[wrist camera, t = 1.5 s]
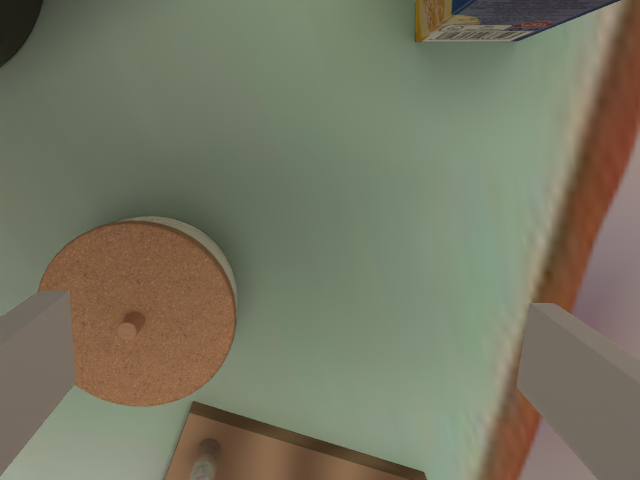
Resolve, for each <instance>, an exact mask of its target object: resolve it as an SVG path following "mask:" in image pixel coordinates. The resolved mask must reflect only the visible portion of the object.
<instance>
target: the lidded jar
mask: <svg viewBox="0 0 640 480" xmlns="http://www.w3.org/2000/svg"><path fill="white" fill-rule="evenodd" d="M40 290H42V291H69V292H70V306H71V321H72V335H73V350H74V364H75V379H76V383H75V385H76V386H78V387H79V388H81V389H83V390H84V391H86V392H88V393H89V394H92V395H94V396H96V397H98V398H100V399H102V400H106V401H109V402H113V403H116V404H122V405H128V406H153V405H161V404H165V403H169V402H172V401H176V400H178V399H181V398H183V397H185V396H187V395H190V394H191V393H193V392H194V391H196V390H197V389H199V388H201V387H202V386H203V385H204V384H205V383H207V382H208V381H209V380H210V379H211V378H212V377H213V376H214V375H215V373H216V372H217V371H218V370H219V368H220V367H221V366H222V364H223V362H224V360H225V359H226V357H227V355H228V353H229V350H230V347H231V345H232V342H233V339H234V334H235V328H236V316H237V310H238V295H237V287H236V281H235V278H234V274H233V271H232V268H231V266H230V265H229V263H228V261H227V259H226V257H225V255H224V254H223V252H222V251H221V250H220V248H219V247H218V245H217V244H216V243H215V242H214V241H213V240H212V239H210V238H209V237H208V236H207V235H206V234H204V233H203V232H202V231H200V230H199V229H197V228H195V227H193V226H191V225H189V224H187V223H184V222H181V221H178V220H175V219H171V218H166V217H160V216H142V217H133V218H127V219H123V220H119V221H116V222H113V223H110V224H106V225H103V226H99V227H97V228H94V229H92V230H90V231H88V232H86V233H84V234H82V235H80V236H78V237H77V238H75V239H74V240H73V241H71V242H70V243H68V244H67V245H66V246H65V247H64V248H63V249H62V250H61V251H60V252H59V253H58V254H57V255H56V256H55V257H54V259H53V260H52V261H51V263H50V264H49V265H48V267H47V269H46V271H45V273H44V275H43V277H42V279H41V282H40V286H39V289H38V292H39V291H40Z"/></svg>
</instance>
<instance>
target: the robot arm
mask: <svg viewBox="0 0 640 480" xmlns="http://www.w3.org/2000/svg"><path fill="white" fill-rule="evenodd" d="M41 3H42V0H0V66H1V65H2V64H4V63H5V62H6V61H7V60H8V59H10V58H11V57H12V56H13V55H14V54H15V53H16V51H17V50H18V49H19V48H20V47H21V45H22V44H23V43H24V41H25V40H26V38H27V37H28V35H29V33H30V32H31V30H32V28H33V26H34V24H35V21H36V19H37V16H38V13H39V10H40V7H41ZM75 383H76V379H75V364H74V350H73V335H72V321H71V306H70V292H69V291H42V290H40V291H39V292H37V293H36V294H34V295H33V296H31V297H30V298H29V299H27V300H26V301H24V302H23V303H21V304H20V305H18V306H17V307H16V308H14V309H13V310H11V311H10V312H8V313H7V314H5V315H4V316H2V317H1V318H0V476H1V475H2V474H3V472H4V471H5V470H6V469H7V467H8V466H9V465H10V464H11V462H12V461H13V460H14V459H15V457H16V456H17V455H18V454H19V452H20V451H21V450H22V449H23V447H24V446H25V445H26V444H27V442H28V441H29V440H30V439H31V437H32V436H33V435H34V434H35V432H36V431H37V430H38V429H39V427H40V426H41V425H42V424H43V422H44V421H45V420H46V419H47V417H48V416H49V415H50V414H51V412H52V411H53V410H54V409H55V407H56V406H57V405H58V404H59V402H60V401H61V400H62V399H63V397H64V396H65V395H66V394H67V392H68V391H69V390H70V389H71V388H72V386H73V385H74V384H75ZM516 387H517V388H518V389H519V391H520V392H521V393H522V394H523V395H524V396H525V397H526V398H527V400H528V401H529V402H530V403H531V404H532V405H533V406H534V408H535V409H536V410H537V411H538V412H539V413H540V414H541V416H542V417H543V418H544V419H545V420H546V421H547V422H548V424H549V425H550V426H551V427H552V428H553V429H554V430H555V431H556V433H557V434H558V435H559V436H560V437H561V438H562V439H563V441H564V442H565V443H566V444H567V445H568V446H569V447H570V449H571V450H572V451H573V452H574V453H575V454H576V455H577V456H578V458H579V459H580V460H581V461H582V462H583V463H584V464H585V466H586V467H587V468H588V469H589V470H590V471H591V472H592V473H593V475H594V476H595V477H596V478H597V479H598V480H640V360H638V359H637V358H635V357H634V356H633V355H631V354H630V353H628V352H627V351H625V350H624V349H622V348H620V347H619V346H618V345H616V344H615V343H613V342H612V341H610V340H609V339H607V338H606V337H604V336H603V335H601V334H599V333H598V332H596V331H595V330H594V329H592V328H591V327H589V326H588V325H586V324H585V323H583V322H582V321H580V320H579V319H577V318H576V317H574V316H573V315H571V314H570V313H568V312H567V311H565V310H564V309H562V308H561V307H559V306H558V305H556V304H555V303H530V305H529V311H528V317H527V324H526V330H525V336H524V342H523V348H522V355H521V361H520V367H519V373H518V379H517V386H516Z"/></svg>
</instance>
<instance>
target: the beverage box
mask: <svg viewBox="0 0 640 480" xmlns="http://www.w3.org/2000/svg"><path fill="white" fill-rule="evenodd" d="M617 1H620V0H416V18H415V42H484V41H519V40H522V39H524V38H527V37H529V36H532V35H534V34H537V33H539V32H542V31H544V30H547V29H549V28H552V27H555V26H557V25H560V24H562V23H565V22H567V21H570V20H572V19H575V18H577V17H580V16H582V15H585V14H587V13H590V12H592V11H595V10H597V9H600V8H602V7H605V6H607V5H610V4H612V3H615V2H617Z"/></svg>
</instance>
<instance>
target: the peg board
mask: <svg viewBox="0 0 640 480" xmlns="http://www.w3.org/2000/svg"><path fill="white" fill-rule="evenodd" d="M209 438H211V439H215V440H216V441H218V442H219V444H220V446H221V451H220V455H219V460H218V465H217V469H216V474H215V479H214V480H427V479H426V476H425V474H424V472H421V471H418V470H415V469H411V468H408V467H405V466H402V465H398V464H395V463H392V462H389V461H385V460H382V459H379V458H376V457H372V456H369V455H366V454H363V453H359V452H356V451H353V450H350V449H346V448H343V447H340V446H337V445H333V444H330V443H327V442H324V441H320V440H317V439H314V438H311V437H307V436H304V435H301V434H298V433H294V432H291V431H288V430H285V429H281V428H278V427H275V426H272V425H268V424H265V423H262V422H259V421H255V420H252V419H249V418H246V417H242V416H239V415H236V414H233V413H229V412H226V411H223V410H220V409H216V408H213V407H210V406H207V405H203V404H200V403H197V402H193V404H192V407H191V410H190V412H189V415H188V418H187V421H186V423H185V426H184V429H183V431H182V434H181V437H180V440H179V442H178V445H177V448H176V450H175V453H174V456H173V458H172V461H171V464H170V467H169V469H168V472H167V475H166V477H165V480H189V479H190V475H191V472H192V468H193V465H194V461H195V458H196V454H197V451H198V447H199V444H200V443H201V442H202V441H203V440H205V439H209Z"/></svg>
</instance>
